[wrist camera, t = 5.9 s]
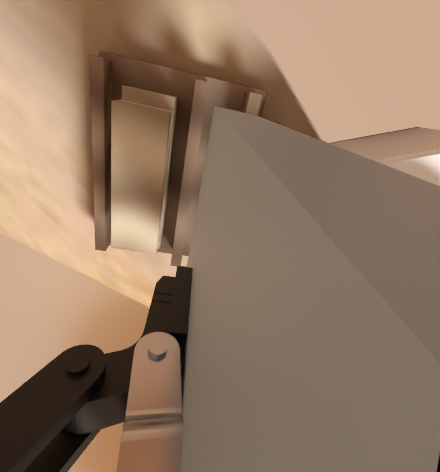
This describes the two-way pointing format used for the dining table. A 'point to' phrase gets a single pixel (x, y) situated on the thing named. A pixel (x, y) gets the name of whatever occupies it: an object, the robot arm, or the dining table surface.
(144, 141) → the offcut upper
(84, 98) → the dining table surface
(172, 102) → the offcut lower
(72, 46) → the dining table surface
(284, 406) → the grey board
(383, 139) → the butter dish
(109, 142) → the walnut rack
